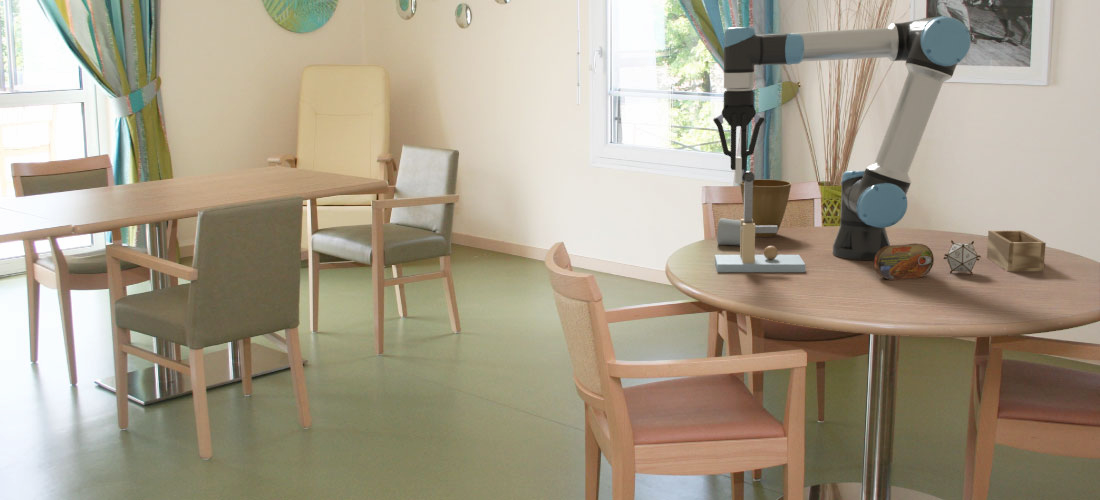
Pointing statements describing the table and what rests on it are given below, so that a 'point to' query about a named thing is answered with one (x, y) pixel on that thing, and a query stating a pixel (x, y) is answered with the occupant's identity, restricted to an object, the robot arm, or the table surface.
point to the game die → (962, 257)
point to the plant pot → (768, 202)
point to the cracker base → (757, 257)
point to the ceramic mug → (728, 232)
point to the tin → (903, 261)
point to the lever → (748, 202)
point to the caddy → (1016, 250)
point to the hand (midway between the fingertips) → (738, 182)
